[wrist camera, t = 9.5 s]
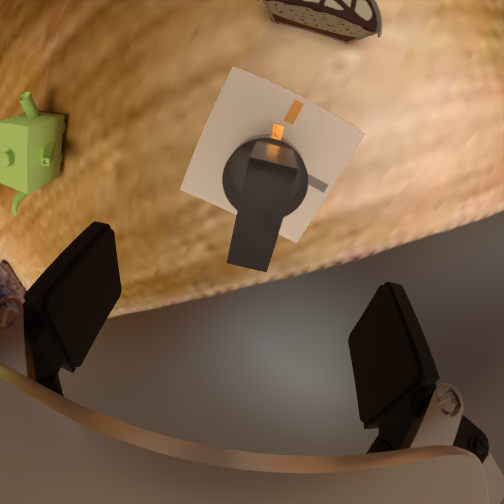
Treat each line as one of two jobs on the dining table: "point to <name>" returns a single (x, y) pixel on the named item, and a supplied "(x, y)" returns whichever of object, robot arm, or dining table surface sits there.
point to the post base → (261, 122)
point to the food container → (329, 17)
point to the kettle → (30, 149)
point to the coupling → (262, 194)
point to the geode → (10, 284)
